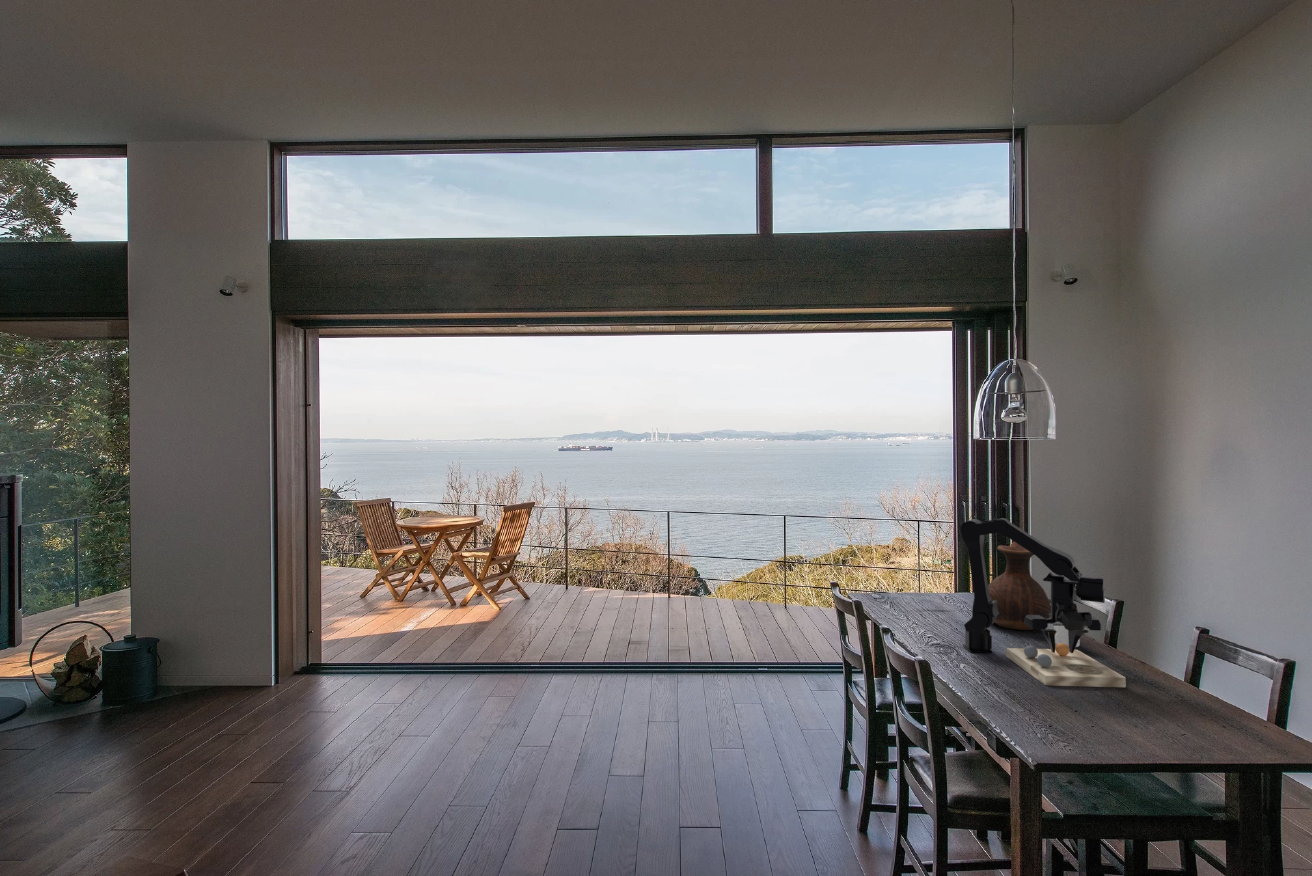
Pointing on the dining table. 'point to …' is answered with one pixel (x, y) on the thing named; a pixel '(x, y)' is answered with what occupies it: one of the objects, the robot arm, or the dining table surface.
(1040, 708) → the dining table surface
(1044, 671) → the board
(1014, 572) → the jug
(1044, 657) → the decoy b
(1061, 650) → the ball
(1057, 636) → the white cup
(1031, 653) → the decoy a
